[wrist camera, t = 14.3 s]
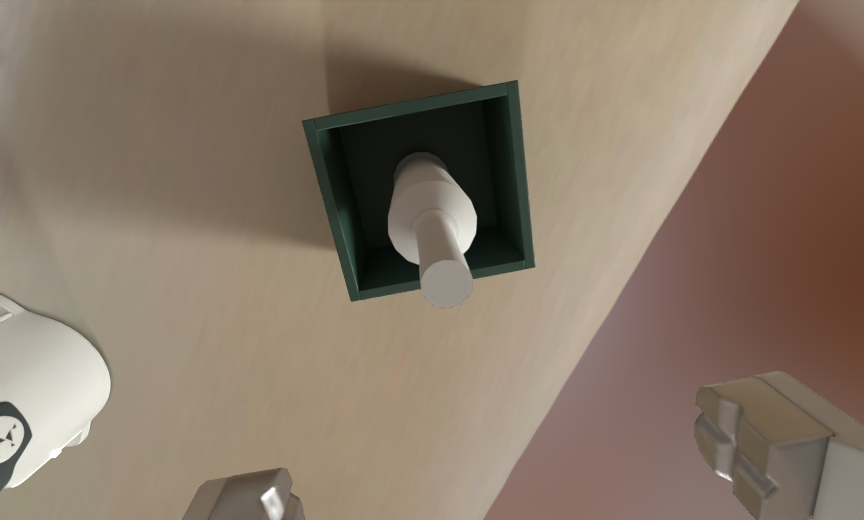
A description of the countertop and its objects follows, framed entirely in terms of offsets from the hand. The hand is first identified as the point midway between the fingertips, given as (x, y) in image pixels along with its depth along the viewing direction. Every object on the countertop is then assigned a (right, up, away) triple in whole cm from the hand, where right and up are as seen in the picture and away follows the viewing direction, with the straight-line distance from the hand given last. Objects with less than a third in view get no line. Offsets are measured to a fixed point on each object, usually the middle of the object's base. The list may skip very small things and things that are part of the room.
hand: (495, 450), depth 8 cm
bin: (-2, +12, +32) cm, 34 cm away
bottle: (-2, +11, +31) cm, 34 cm away
